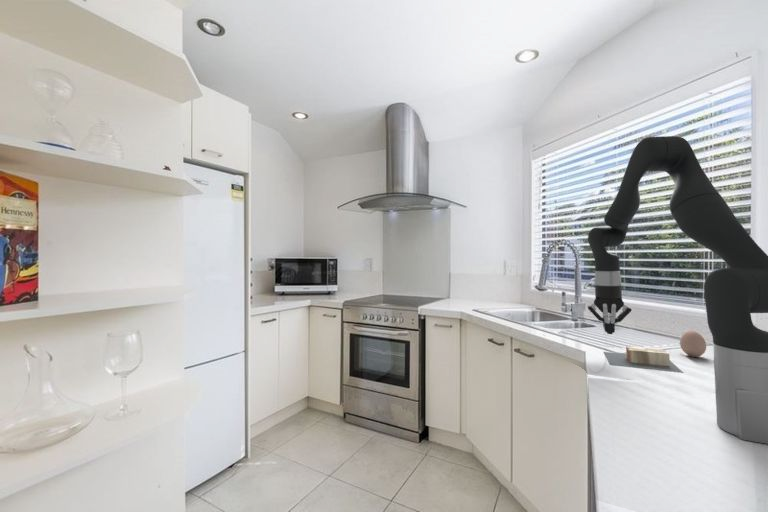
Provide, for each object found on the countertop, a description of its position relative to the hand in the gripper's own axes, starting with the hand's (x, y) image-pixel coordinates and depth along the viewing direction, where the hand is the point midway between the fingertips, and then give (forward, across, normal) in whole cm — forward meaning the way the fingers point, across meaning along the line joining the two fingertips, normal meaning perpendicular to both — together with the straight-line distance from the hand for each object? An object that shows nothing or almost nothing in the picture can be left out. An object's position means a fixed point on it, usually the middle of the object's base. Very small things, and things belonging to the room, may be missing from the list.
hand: (609, 333), depth 109 cm
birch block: (+6, +5, 0) cm, 8 cm away
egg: (+10, +25, +16) cm, 31 cm away
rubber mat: (+9, +8, 0) cm, 12 cm away
